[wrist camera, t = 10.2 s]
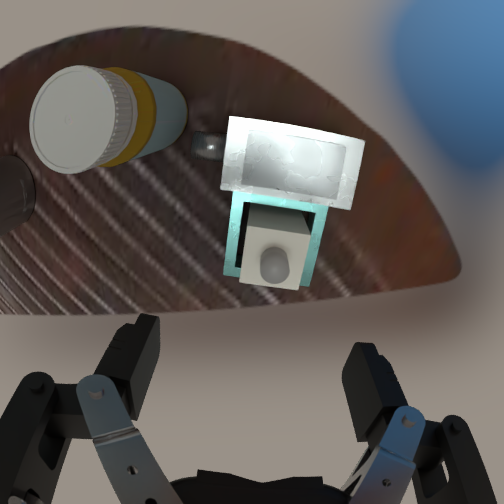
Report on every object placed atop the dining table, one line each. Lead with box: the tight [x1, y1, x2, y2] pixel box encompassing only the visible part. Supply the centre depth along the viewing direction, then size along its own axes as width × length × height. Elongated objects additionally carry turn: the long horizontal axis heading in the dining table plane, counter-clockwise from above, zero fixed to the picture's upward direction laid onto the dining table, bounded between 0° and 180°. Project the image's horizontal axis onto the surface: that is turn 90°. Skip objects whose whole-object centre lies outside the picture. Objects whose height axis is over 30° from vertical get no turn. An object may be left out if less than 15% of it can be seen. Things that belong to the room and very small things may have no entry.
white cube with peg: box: [239, 202, 311, 290], centre depth 27 cm, size 5×5×9 cm
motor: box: [191, 116, 365, 286], centre depth 27 cm, size 13×15×8 cm
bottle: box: [30, 65, 188, 174], centre depth 20 cm, size 7×7×15 cm
